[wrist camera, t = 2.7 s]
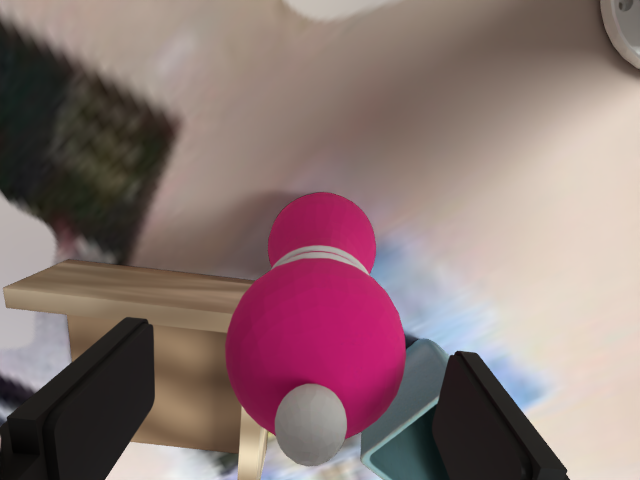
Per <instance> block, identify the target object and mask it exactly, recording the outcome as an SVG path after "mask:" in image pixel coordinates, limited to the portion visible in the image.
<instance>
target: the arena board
mask: <svg viewBox="0 0 640 480" xmlns="http://www.w3.org/2000/svg"><path fill="white" fill-rule="evenodd" d="M61 263H70V264H79V265H87V266H96V267H105V268H114V269H122V270H131V271H140V272H149V273H157V274H166V275H175V276H184V277H192V278H201V279H210V280H218V281H227V282H236V283H245V284H253V283H254V282H255V281H254V280H245V279H237V278H228V277H219V276H210V275H202V274H193V273H184V272H175V271H167V270H158V269H149V268H140V267H132V266H123V265H114V264H106V263H97V262H88V261H79V260H71V259H68V260H66V261H63V262H61ZM67 321H68V330H69V338H70V347H71V356H72V362H73V361H74V360H75V359H77V358H78V357H79V356H80V355H81V354H83V353H84V352H85V351H86V350H87V349H88V348H90V347H91V346H92V345H93V344H94V343H96V342H97V341H98V340H99V339H100V338H101V337H103V336H104V335H105V334H106V333H107V332H109V331H110V330H111V329H112V328H113V327H114V326H116V325H117V324H118V323H119V322H120V321H118V320H110V319H101V318H92V317H83V316H74V315H67ZM152 325H153V328H154V372H155V400H154V404H153V406H152V409H151V410H150V412H149V414H148V415H147V417H146V418H145V420H144V421H143V423H142V424H141V426H140V427H139V429H138V430H137V432H136V433H135V435H134V436H133V438H132V439H131V441H130V442H137V443H147V444H156V445H165V446H174V447H183V448H192V449H201V450H210V451H219V452H228V453H237V454H239V446H240V428H241V411H242V405H241V404H240V402H239V401H238V399H237V397H236V395H235V393H234V391H233V388H232V386H231V383H230V380H229V377H228V372H227V368H226V359H225V342H226V337H227V333H224V332H216V331H207V330H198V329H189V328H180V327H171V326H163V325H154V324H152ZM267 438H268V431H267ZM266 449H267V440H266ZM265 454H266V451H265Z"/></svg>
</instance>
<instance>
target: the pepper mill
mask: <svg viewBox="0 0 640 480" xmlns="http://www.w3.org/2000/svg"><path fill="white" fill-rule="evenodd" d="M268 254H269V261H270V264H271V267H272V268H271V270H270V271H269V272H267V273H266V274H265V275H263V276H262V277H260V278H259V279H257V280H256V281H255V282H254V283H253V284H252V285H251V286H250V287H249V289H248V290H247V291H246V292H245V293H244V294H243V296H242V298H241V300H240V302H239V303H238V305H237V307H236V309H235V311H234V313H233V315H232V318H231V321H230V324H229V328H228V331H227V337H226V342H225V359H226V368H227V372H228V377H229V380H230V383H231V386H232V388H233V391H234V393H235V395H236V397H237V399H238V401H239V402H240V404H241V405H242V407H243V408H244V410H245V411H246V413H247V414H248V415H249V416H250V417H251V418H252V419H253V420H254V421H255V422H256V423H257V424H258V425H260V426H261V427H263V428H264V429H266V430H267V431H269V432H271V433H272V434H274V435H275V436H276V438H277V441H278V444H279V446H280V448H281V450H282V451H283V452H284V453H285V454H286V456H288V457H289V458H290V459H292V460H293V461H294V462H296V463H297V464H301V465H304V466H318V465H321V464H323V463H325V462H327V461H329V460H330V459H331V458H333V457H334V456H335V455H336V454H337V452H338V451H339V449H340V448H341V446H342V444H343V442H344V440H345V439H347V438H349V437H351V436H353V435H355V434H358V433H360V432H362V431H363V430H365V429H366V428H367V427H369V426H370V425H372V424H373V423H374V422H376V421H377V420H378V419H379V418H380V417H381V416H382V415H383V414H384V413H385V412H386V411H387V409H388V408H389V406H390V404H391V403H392V401H393V400H394V398H395V397H396V395H397V393H398V390H399V387H400V384H401V381H402V378H403V373H404V368H405V361H406V347H405V335H404V331H403V327H402V324H401V320H400V317H399V313H398V311H397V310H396V308H395V306H394V304H393V303H392V301H391V299H390V297H389V296H388V294H387V292H386V291H385V290H384V289H383V288H382V287H381V286H380V285H379V284H378V283H377V282H376V281H375V280H374V279H373V278H372V277H371V276H370V275H369V274H370V272H371V269H372V267H373V264H374V260H375V256H376V243H375V237H374V232H373V229H372V226H371V223H370V221H369V220H368V218H367V216H366V215H365V214H364V212H363V211H362V210H361V209H360V208H359V207H358V206H357V205H355V204H354V203H353V202H351V201H349V200H348V199H346V198H344V197H341V196H338V195H336V194H332V193H326V192H319V193H313V194H309V195H305V196H303V197H300V198H298V199H296V200H294V201H293V202H291V203H290V204H288V205H287V206H286V207H285V208H284V209H283V210H282V211H281V212H280V214H279V215H278V216H277V218H276V220H275V222H274V224H273V226H272V229H271V232H270V236H269V239H268Z"/></svg>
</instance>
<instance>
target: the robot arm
mask: <svg viewBox="0 0 640 480" xmlns="http://www.w3.org/2000/svg"><path fill="white" fill-rule="evenodd" d="M600 4H601V13H602V18H603V22H604V26H605V30H606V32H607V34H608V36H609V38H610V40H611V42H612V44H613V46H614V47H615V48H616V49H617V51H618V52H619V53H620V54H621V56H622V57H623V58H624V59H625V60H627V61H628V62H629V63H631V64H632V65H633V66H635V67H636V68H638V69H640V0H600ZM154 400H155V372H154V328H153V325H152V324H149V322H148V320H147V319H144V318H134V317H126V318H124V319H123V320H122V321H120V322H119V323H118V324H117V325H116V326H114V327H113V328H112V329H111V330H110V331H109V332H107V333H106V334H105V335H104V336H103V337H101V338H100V339H99V340H98V341H97V342H96V343H94V344H93V345H92V346H91V347H90V348H88V349H87V350H86V351H85V352H84V353H83V354H81V355H80V356H79V357H78V358H77V359H75V360H74V361H73V362H72V363H71V364H70V365H68V366H67V367H66V368H65V369H64V370H62V371H61V372H60V373H59V374H58V375H57V376H55V377H54V378H53V379H52V380H51V381H49V382H48V383H47V384H46V385H45V386H44V387H42V388H41V389H40V390H39V391H38V392H36V393H35V394H34V395H33V396H32V397H30V398H29V399H28V400H27V401H26V402H25V403H23V404H22V405H21V406H20V407H19V408H17V409H16V410H15V411H14V412H13V413H12V414H10V415H9V416H8V417H7V422H5V423H4V424H3V425H2V426H1V427H0V480H105V479H106V477H107V476H108V474H109V473H110V471H111V470H112V468H113V467H114V465H115V464H116V462H117V461H118V459H119V457H120V456H121V454H122V453H123V451H124V450H125V448H126V447H127V445H128V444H129V442H130V441H131V439H132V438H133V436H134V435H135V433H136V432H137V430H138V429H139V427H140V426H141V424H142V423H143V421H144V420H145V418H146V417H147V415H148V414H149V412H150V410H151V409H152V406H153V404H154ZM432 432H433V437H434V439H435V442H436V444H437V447H438V450H439V452H440V455H441V457H442V460H443V462H444V465H445V467H446V470H447V472H448V475H449V478H450V480H570V479H569V478H568V476H567V475H566V473H567V469H566V468H565V467H564V465H563V464H562V463H561V461H560V460H559V459H558V458H557V456H556V455H555V454H554V452H553V451H552V450H551V448H550V447H549V446H548V445H547V443H546V442H545V441H544V439H543V438H542V437H541V435H540V434H539V433H538V432H537V430H536V429H535V428H534V426H533V425H532V424H531V423H530V421H529V420H528V419H527V417H526V416H525V415H524V413H523V412H522V411H521V410H520V408H519V407H518V406H517V404H516V403H515V402H514V400H513V399H512V398H511V397H510V395H509V394H508V393H507V391H506V390H505V389H504V388H503V386H502V385H501V384H500V382H499V381H498V380H497V378H496V377H495V376H494V375H493V373H492V372H491V371H490V369H489V368H488V367H487V365H486V364H485V363H484V362H483V360H482V359H481V358H480V356H479V355H478V354H477V353H473V352H464V351H457V352H455V354H454V355H450V357H449V359H448V363H447V367H446V371H445V375H444V379H443V383H442V387H441V391H440V395H439V399H438V403H437V407H436V411H435V415H434V419H433V424H432Z"/></svg>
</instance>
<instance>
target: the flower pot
mask: <svg viewBox="0 0 640 480" xmlns="http://www.w3.org/2000/svg"><path fill="white" fill-rule="evenodd" d="M449 357H450V356H449V355H448V354H447V353H446V352H445V351H444V350H443V349H442V348H441V347H440V346H438V345H437V344H436V343H435V342H433V341H431V340H429V339H419V340H417V341H415V342H414V343H413V344H412V345H411V346H410V347H408V348H407V349H406V361H405V368H404V373H403V378H402V381H401V384H400V387H399V390H398V393H397V395H396V397H395V398H394V400H393V401H392V403H391V404H390V406H389V408H388V409H387V411H386V412H385V413H384V414H383V415H382V416H381V417H380V418H379V419H378V420H377V421H376V422H374V423H373V424H372V425H370V426H369V427H367V428H366V429H365V430H363V431H362V436H361V457H360V460H361V462H362V463H363V464H364V465H365V466H366V467H367V468H368V469H370V470H371V471H372V472H374V473H375V474H376V475H378V476H379V477H380V478H382V479H383V480H450V478H449V475H448V472H447V470H446V467H445V465H444V462H443V460H442V457H441V455H440V452H439V450H438V447H437V444H436V442H435V439H434V437H433V432H432V424H433V419H434V415H435V411H436V407H437V403H438V399H439V395H440V391H441V387H442V383H443V379H444V375H445V371H446V367H447V363H448V359H449Z"/></svg>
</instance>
